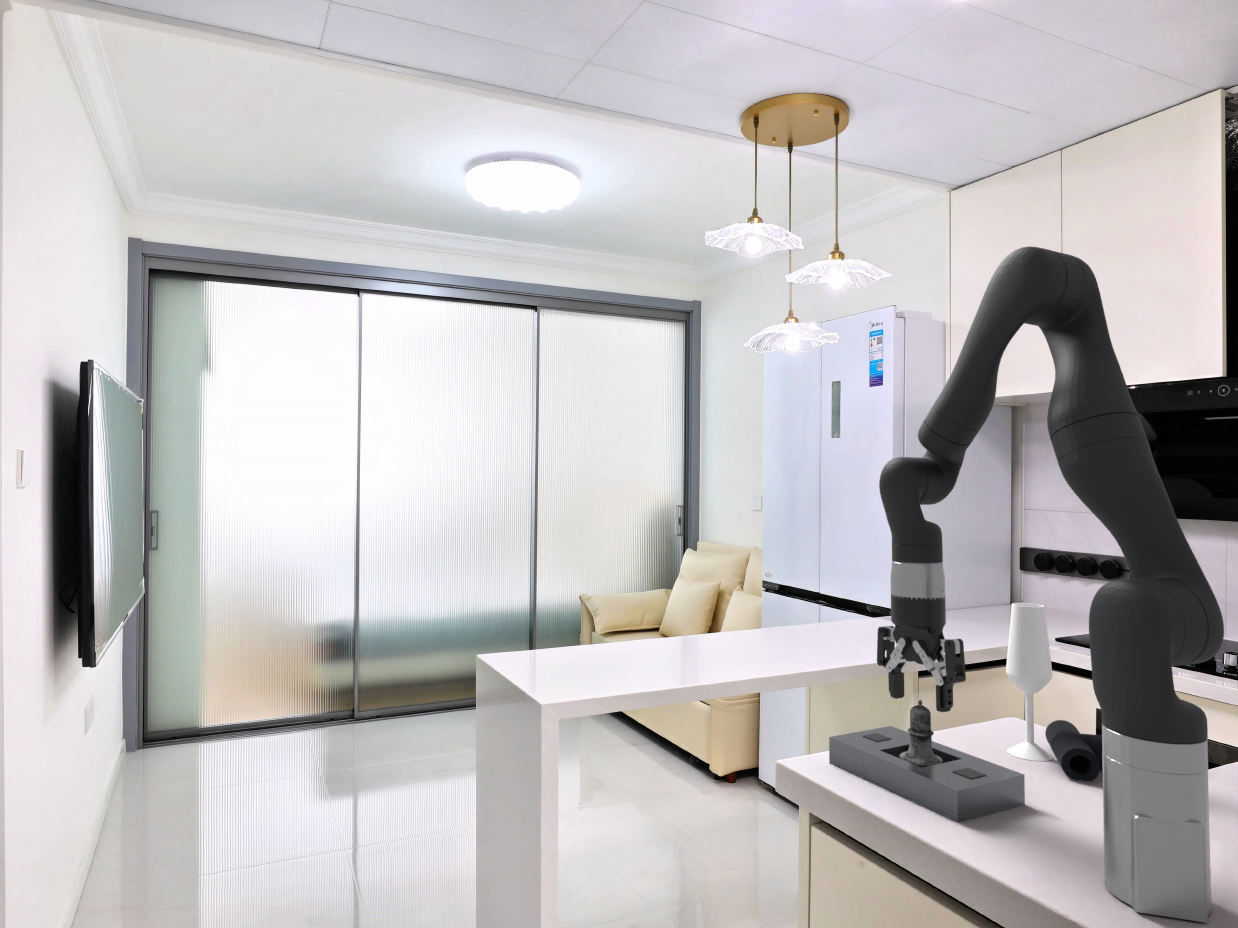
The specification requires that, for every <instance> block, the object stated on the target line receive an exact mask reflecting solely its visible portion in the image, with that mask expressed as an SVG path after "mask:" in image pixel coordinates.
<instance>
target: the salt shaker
mask: <svg viewBox="0 0 1238 928" xmlns="http://www.w3.org/2000/svg"><path fill="white" fill-rule="evenodd" d="M917 703H918V704H917V705H914V706H913V707H911V708H910V710H909V728H908V729H907V731H906V732H909V733H910V745H909V749H908V751H906V752H903V753H901V754H900V755H899V756H900V759H902V760H905V761H907V762H909V763H912V764H914V765H917V766H919V767H927V766H932V765H936V764H941V763H942V762H943V760H942V759H941V758H940V757H939V756H937V755H935V754H934V753H933V750H932V741H933V737H932V736H933V735H935V734H934V733H935V732H934V731H933V730H932V714H931V711H930V709H929V708H928V707H926V706H924V705H923V703H924V702H923V700H921V699H919V700H918V701H917Z"/></svg>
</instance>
